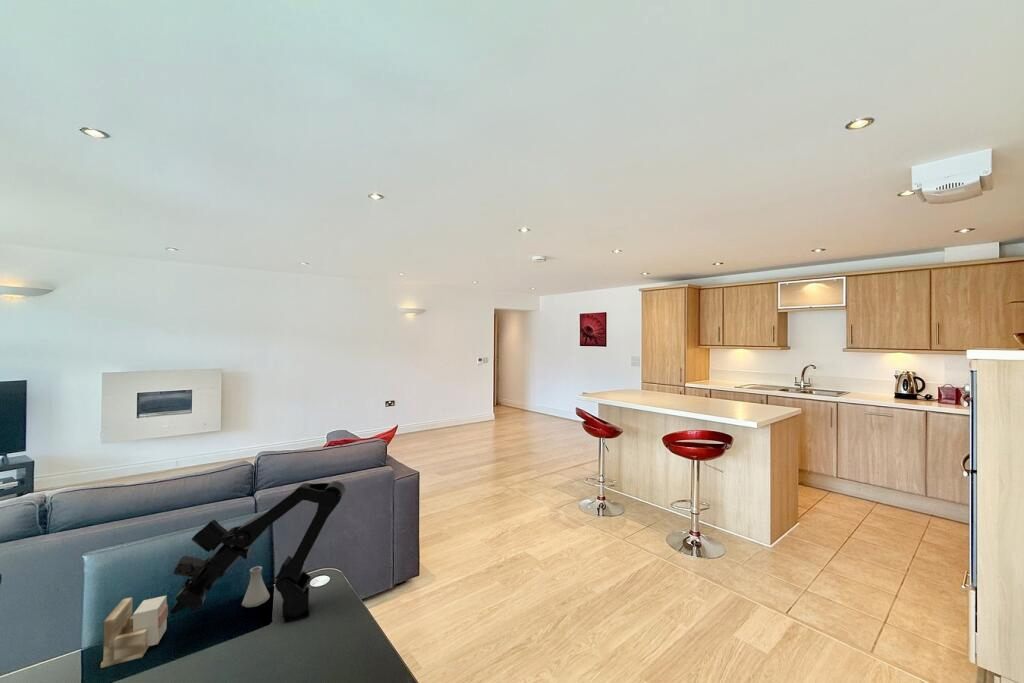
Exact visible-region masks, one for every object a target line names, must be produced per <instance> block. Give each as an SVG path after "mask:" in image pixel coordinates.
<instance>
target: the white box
mask: <svg viewBox="0 0 1024 683" xmlns="http://www.w3.org/2000/svg"><path fill="white" fill-rule="evenodd" d="M167 599H168V598H167V594H166V595H163V596H158V597H154V598H148V599H144V600H142V602H141V603H140V604H139V606H138V607H137V609H136V610H135V611H134V612H133V613H132V616H133V632H136V631H140V630H144V629H147V647H148V646H149V647H152V646H155V645H159V643H160V640H162V637H163V636H164V634H165V632H166V630H167V617H168V616H169V615H168V614H169V608H168V607H169V604H167V602H168V600H167ZM149 647H148V648H149Z"/></svg>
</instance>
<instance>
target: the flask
mask: <svg viewBox="0 0 1024 683" xmlns="http://www.w3.org/2000/svg"><path fill="white" fill-rule="evenodd" d="M262 570H263V566H261V565H260V566H254V567H252V568H250V569H249V573H250V579H249V582H248V586H247V589H246V592H245V594H244V597H243V599H242V602H241V606H242V607H245V608H254V607H258V606H261V605H262V604H264V603H266V602H267V601H268V600H269V599H270V597H271V595H270V592H269V591H268V589H267V587H266V584H265V582H264V579H263V576H262Z"/></svg>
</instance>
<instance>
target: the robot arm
mask: <svg viewBox="0 0 1024 683" xmlns="http://www.w3.org/2000/svg"><path fill="white" fill-rule="evenodd" d="M345 494H346V487H345V485H344V484H343V483H342V482H340V481H336V480H335V481H332V482H319V483H310V482H304V483H301V484H300V485H298V487H297V488H296V489H295V490H294V491H293V490H292V492H291V493H289V494H288V495H287V496H285V497H284V498H283V499H281V500H280V501H278V502H277V503H276V504H275V505H273V506H271V508H270V509H268V510H266V511H265V512H263V513H262V514H259V515H257V516H255V517H253V518H251V519H249V520H247V521H246V522H244V523H243V524H242V525H239V526H233V527H231V528H230V529H229V530H228V529H226V528H224V526H222V525H221V524H220V523H219V522H218V521H217V520H216V519H212V520H211V521H209V522H208V523H207V524H206V525H205V526H204V527H203V528H202V529H201V530H199V531H198V532H197V533H196V534H194V536H192V538H191V541H192V542H193V543H194V544H196V545H197V546H198V547H199V548H201V549H202V550H204V551H205V552H206V553H210V552H211V551H212V552H214V551H216V550H217V551H216V552H215V553H214V554H212V555H210V556H208V557H207V558H206V559H205V560H204V559H201V558H197V557H193V556H187V555H183V556H181V557H180V559H179V561H178V563H176V564H177V565H176V566H175V568H174V570H173V572H172V574H173V575H175V576H182V577H189V578H187V579H186V580H185V582H184V584H183V585H182V587H181V589H180V591H179V593H177V595H176V596H175V600H176V602H175V604H174V605H173V606H172V608H171V609H170V611H169V613H170V614H171V615H174V614H176V613H178V612H181V611H183V610H184V609H186V608H188V609H190V610H192V611H194V612H197V611H198V610H199V609H200V607H202V605H203V604H204V602H205V600H206V592H207V591H210V590H211V589H212V588H213V586H214V584H215V583H216V582H217V581H218V580H219V579H220V578H223V576H224V575H225V574H226V572H227V571H228V570H229V568H230V567H232V565H234V563H235V562H236V561H237V560H238V559H239V558H240V557H241V558H242V559H244V560H246V559H248V558H249V556H250V555H251V546H252V545H253V543H254V542H255V541H257V539H258V538H260V536H261V535H262V534H263V533H264V532H265V531H266V530H267V528H268V527H270V526H271V525H272V524H273V523H274V522H276V521H277V520H279V519H280V518H281V517H282V516H284V515H285V514H286V513H288V512H289V511H290V510H292V509H293V508H294V507H296V506H297V505H298V504H300V503H301V502H302V501H308V502H310V503H315V504H317V508H316V513H315V515H314V517H313V518H312V520H311V522H310V525H309V526H308V528H307V530H306V532H305V534H304V536H303V538H302V540H301V542H300V543H299V545H298V547H297V549H296V550H295V553H294V555H293V556H290V555H287V557H286V559H285V560H284V561H283V563H282V564H281V566H280V569H279V571H278V573H277V574H276V576H275V577H274V579H275V582H274V587H275V589H276V591H278V592H279V593H280V595H281V598H282V602H281V603H282V604H281V605H282V606H281V608H282V610H281V614H282V618H283V623H289V622H292V621H297V620H300V619H304V618H307V617H309V616H310V612H311V611H310V607H311V606H310V605H311V604H310V587H309V585H310V584H311V579H312V576H311V575H309V574H308V573H307V572H305V569H306V565H307V562H308V558H309V555H310V553H311V551H312V549H313V548H314V545H315V543H316V542H317V540H318V538H319V536H320V533H321V532H322V530H323V528H324V526H325V524H326V522H327V520H328V518H329V516H330V515H331V514H332V513H333V512H334V510H335V509H336V507H337V506H338V505H339V504H340V502H341V500H342V499H343V497H344V495H345ZM221 545H222V546H221ZM220 546H221V547H220ZM219 547H220V548H219ZM217 548H219V549H217Z"/></svg>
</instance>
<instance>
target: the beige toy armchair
mask: <svg viewBox="0 0 1024 683" xmlns="http://www.w3.org/2000/svg"><path fill="white" fill-rule="evenodd" d="M149 648H150V646H148V647H147V629H144V630H140V631H136V632H133V596H132V597H126V598H123V599H122V600H121V601H120V602H119V603H118V604H117V605H116V606H115V608H114V609H113V610H112V611H111V612H110V614H108V616H107V617H106V618H105V619H104V621H103V660H102V661H101V663H100V669H102V668H103V669H104V668H107V667H111V666H114V665H117V664H121V663H125V662H130V661H133V660H136V659H141V658H143V657H144V655H145V654H146V652H147V650H148V649H149Z"/></svg>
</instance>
